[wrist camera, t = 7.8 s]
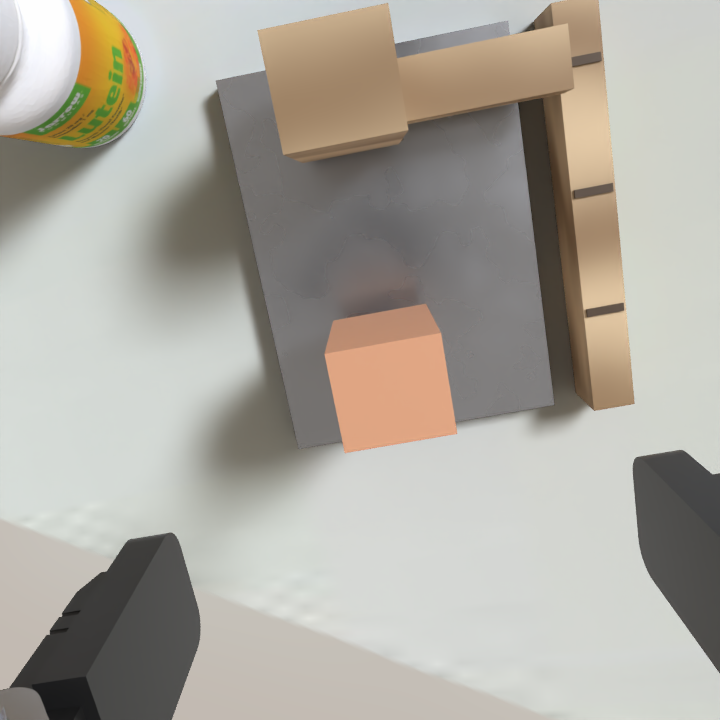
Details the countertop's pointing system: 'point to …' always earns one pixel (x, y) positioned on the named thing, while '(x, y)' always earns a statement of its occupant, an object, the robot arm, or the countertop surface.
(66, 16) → the supplement bottle
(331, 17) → the gauge rule
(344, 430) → the block
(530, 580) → the countertop surface
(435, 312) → the bolt plate
